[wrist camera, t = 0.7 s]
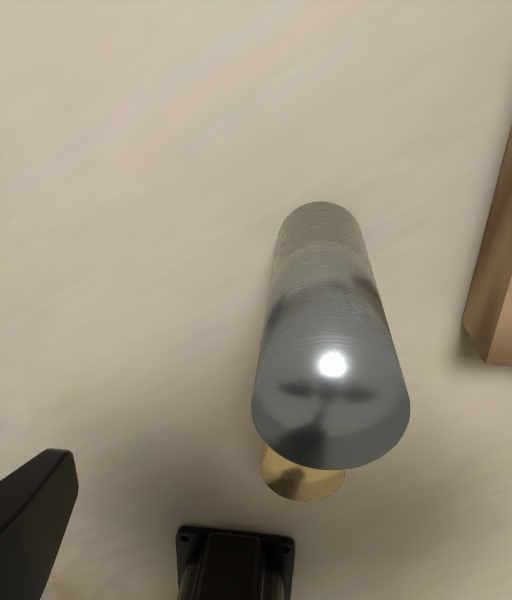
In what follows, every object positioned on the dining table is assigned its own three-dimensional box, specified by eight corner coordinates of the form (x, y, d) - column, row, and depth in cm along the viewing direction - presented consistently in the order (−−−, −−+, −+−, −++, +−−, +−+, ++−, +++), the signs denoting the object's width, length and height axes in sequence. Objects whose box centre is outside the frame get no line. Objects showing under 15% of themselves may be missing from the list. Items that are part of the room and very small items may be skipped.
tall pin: (356, 282, 19) (396, 477, 11) (275, 277, 20) (249, 463, 11) (367, 204, 18) (423, 352, 9) (280, 199, 18) (253, 339, 9)
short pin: (334, 435, 23) (339, 505, 20) (267, 429, 23) (260, 497, 20) (342, 380, 22) (349, 445, 18) (270, 374, 22) (263, 437, 18)
